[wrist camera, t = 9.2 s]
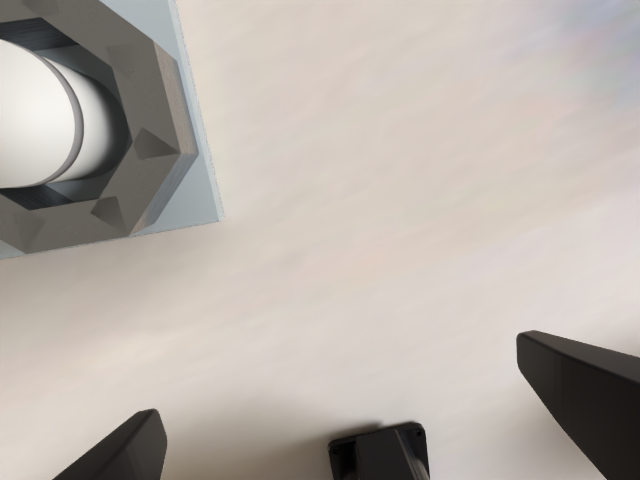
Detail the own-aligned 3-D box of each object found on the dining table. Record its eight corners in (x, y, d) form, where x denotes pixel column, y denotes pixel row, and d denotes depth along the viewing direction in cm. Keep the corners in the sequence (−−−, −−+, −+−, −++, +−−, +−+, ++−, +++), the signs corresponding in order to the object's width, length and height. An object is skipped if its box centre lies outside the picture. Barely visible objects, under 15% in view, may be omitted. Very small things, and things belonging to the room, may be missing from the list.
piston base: (224, 216, 19) (194, 245, 13) (18, 252, 19) (-119, 301, 12) (172, -10, 16) (102, -113, 10) (-70, 23, 16) (-304, -65, 10)
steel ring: (213, 212, 18) (198, 224, 15) (9, 248, 17) (-49, 267, 14) (159, -12, 15) (129, -52, 12) (-81, 21, 15) (-172, -13, 12)
